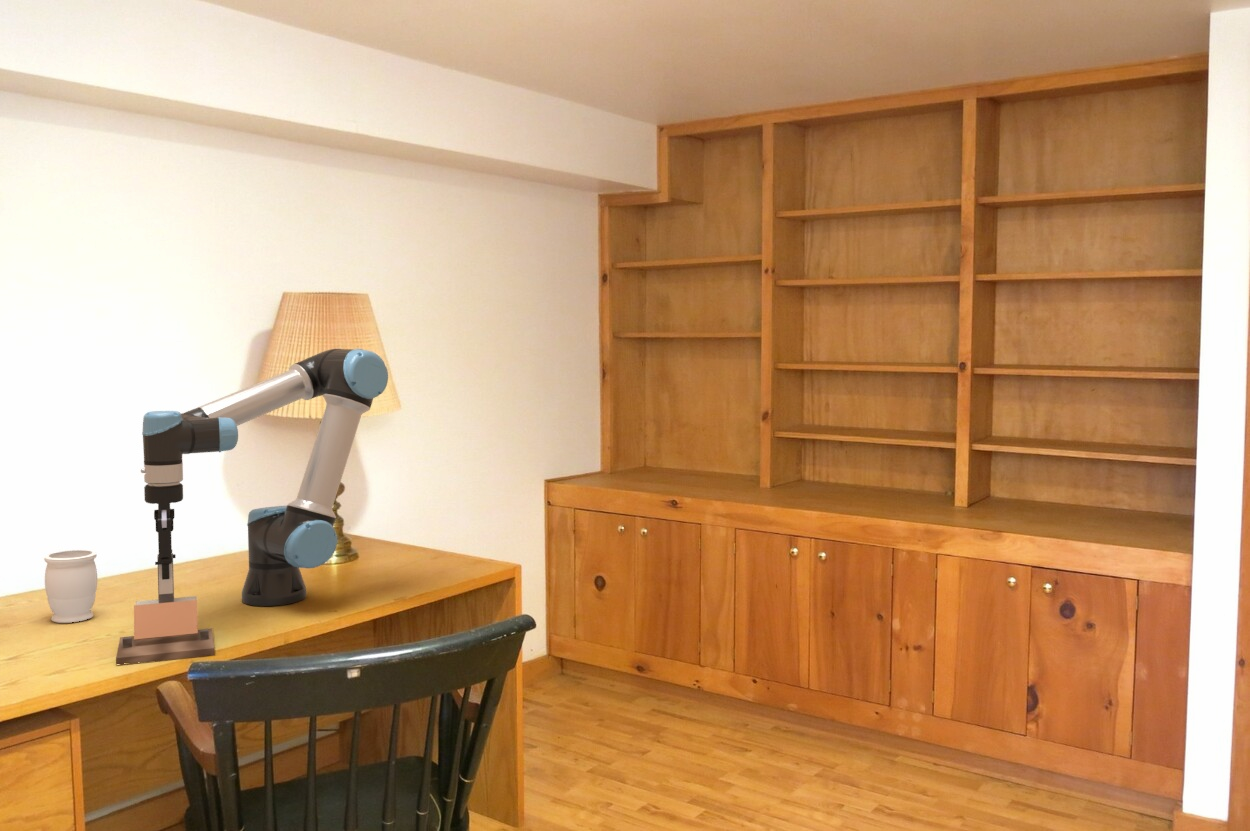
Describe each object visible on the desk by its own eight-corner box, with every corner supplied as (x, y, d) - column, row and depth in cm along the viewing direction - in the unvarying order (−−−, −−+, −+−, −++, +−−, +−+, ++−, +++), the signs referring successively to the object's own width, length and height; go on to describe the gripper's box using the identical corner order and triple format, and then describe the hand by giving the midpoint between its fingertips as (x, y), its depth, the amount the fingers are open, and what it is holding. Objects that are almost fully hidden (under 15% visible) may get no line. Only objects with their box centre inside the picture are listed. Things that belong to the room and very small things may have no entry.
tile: (196, 601, 216) (196, 600, 215) (197, 634, 214) (197, 633, 213) (134, 606, 211) (133, 605, 210) (134, 640, 209) (134, 639, 208)
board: (212, 635, 221) (212, 620, 221) (214, 655, 208) (214, 639, 207) (120, 644, 214) (119, 628, 214) (116, 665, 200) (115, 649, 200)
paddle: (196, 609, 223) (195, 551, 222) (197, 614, 220) (195, 555, 219) (136, 615, 219) (134, 555, 218) (135, 619, 215) (133, 559, 214)
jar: (106, 612, 238) (105, 549, 237) (84, 625, 228) (82, 559, 226) (60, 612, 238) (58, 549, 236) (36, 625, 227) (34, 559, 226)
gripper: (145, 479, 223) (148, 584, 225) (142, 489, 208) (145, 602, 210) (182, 477, 226) (185, 581, 228) (182, 487, 211) (185, 598, 213)
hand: (166, 591), depth 219 cm, fingers closed on paddle, 3 cm apart
